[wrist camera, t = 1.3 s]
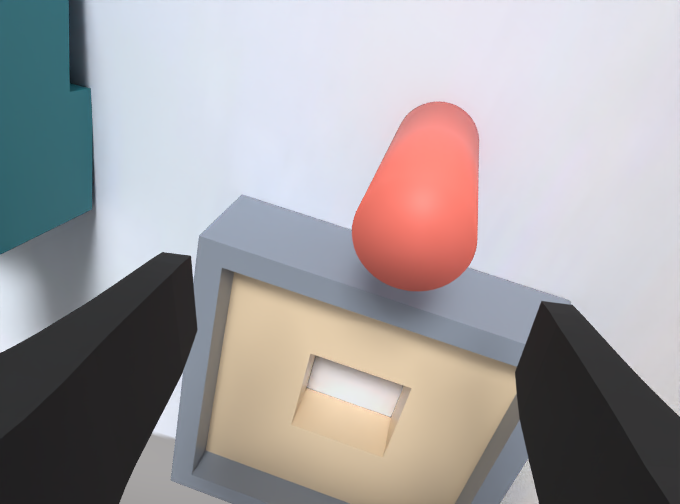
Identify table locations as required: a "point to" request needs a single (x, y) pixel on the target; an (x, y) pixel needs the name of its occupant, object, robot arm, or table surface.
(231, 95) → the table surface
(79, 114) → the teal l-shaped bracket
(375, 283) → the box
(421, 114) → the peg
